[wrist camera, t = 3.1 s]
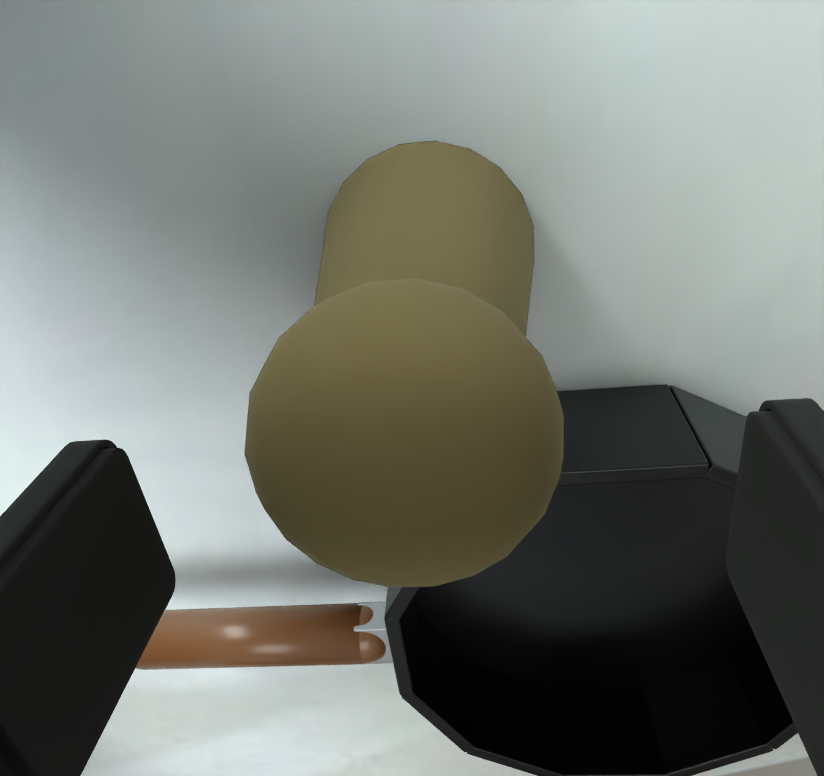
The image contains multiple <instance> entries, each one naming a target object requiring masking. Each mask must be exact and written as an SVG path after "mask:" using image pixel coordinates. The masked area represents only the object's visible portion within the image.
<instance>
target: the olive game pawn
mask: <svg viewBox="0 0 824 776" xmlns="http://www.w3.org/2000/svg"><path fill="white" fill-rule="evenodd" d="M533 263H534V234H533V223H532V221H531V218H530V215H529V212H528V210H527V207H526V204H525V202H524V199H523V196H522V194H521V193H520V191H519V190H518V189H517V188H516V186H515V185H514V184H513V183H512V182H511V180H510V179H509V178H508V177H507V175H506V174H505V173H504V172H503V171H502V169H501V168H500V167H499V166H497V165H495V164H494V163H492V162H490V161H489V160H487V159H486V158H484V157H482V156H481V155H479V154H478V153H476V152H474V151H473V150H471V149H469V148H464V147H460V146H456V145H451V144H447V143H443V142H438V141H428V142H418V143H409V144H400V145H397V146H395V147H393V148H391V149H389V150H387V151H384V152H382V153H380V154H378V155H376V156H374V157H372V158H369V159H367V160H366V161H365V162H364V163H363V164H362V165H361V166H360V167H359V168H358V169H357V170H356V171H355V172H354V173H353V174H352V175H351V176H350V177H349V178H348V179H347V180H346V181H345V182H344V183H343V184H342V186H341V188H340V190H339V192H338V194H337V196H336V198H335V200H334V202H333V204H332V206H331V208H330V210H329V212H328V216H327V223H326V230H325V236H324V243H323V250H322V256H321V263H320V270H319V276H318V283H317V290H316V296H315V303H314V307H313V308H312V309H311V310H309V311H308V312H307V313H306V314H305V315H304V316H303V317H302V318H300V319H299V320H298V321H297V322H296V323H295V324H294V325H293V326H291V327H290V328H289V329H288V330H287V331H286V332H285V333H283V334H282V335H281V336H280V337H279V339H278V340H277V342H276V344H275V346H274V347H273V349H272V351H271V353H270V355H269V356H268V358H267V360H266V362H265V364H264V366H263V368H262V370H261V372H260V374H259V376H258V378H257V380H256V382H255V384H254V385H253V387H252V389H251V391H250V395H249V406H248V418H247V429H246V442H245V457H246V461H247V464H248V467H249V471H250V474H251V477H252V481H253V484H254V487H255V491H256V493H257V495H258V497H259V499H260V501H261V503H262V505H263V507H264V509H265V511H266V512H267V513H268V515H269V516H270V518H271V519H272V520H273V522H274V523H275V525H276V526H277V527H278V529H279V530H280V531H281V533H282V534H283V536H284V537H285V538H286V540H288V541H289V542H290V543H291V544H293V545H294V546H295V547H297V548H298V549H299V550H300V551H302V552H303V553H304V554H306V555H307V556H308V557H309V558H311V559H312V560H313V561H314V562H316V563H317V564H319V565H322V566H324V567H326V568H328V569H331V570H333V571H335V572H337V573H340V574H342V575H344V576H346V577H349V578H351V579H353V580H358V581H363V582H368V583H373V584H378V585H384V586H389V587H394V588H395V587H428V586H438V585H441V584H445V583H449V582H453V581H456V580H460V579H464V578H467V577H471V576H474V575H476V574H477V573H479V572H481V571H483V570H484V569H486V568H488V567H490V566H491V565H493V564H495V563H497V562H498V561H500V560H502V559H503V558H505V557H507V556H508V555H509V554H510V552H511V551H512V550H513V549H514V548H515V547H516V546H517V545H518V544H519V543H520V542H521V540H522V539H523V538H524V537H525V536H526V535H527V534H528V533H529V532H530V531H531V530H532V528H533V527H534V526H535V525H536V524H537V523H538V521H539V520H540V519H541V518H542V517H543V516H544V515H545V512H546V510H547V507H548V505H549V502H550V500H551V498H552V495H553V493H554V490H555V488H556V485H557V483H558V481H559V478H560V473H561V468H562V462H563V448H564V415H563V411H562V408H561V404H560V400H559V397H558V394H557V391H556V389H555V386H554V384H553V381H552V379H551V376H550V374H549V371H548V369H547V366H546V364H545V361H544V359H543V356H542V355H541V353H540V352H539V351H538V350H537V349H536V348H535V347H534V346H533V345H532V343H531V342H530V341H529V340H528V339H527V338H526V330H527V320H528V311H529V301H530V292H531V282H532V272H533Z"/></svg>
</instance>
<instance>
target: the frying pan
mask: <svg viewBox="0 0 824 776" xmlns="http://www.w3.org/2000/svg"><path fill="white" fill-rule="evenodd" d="M557 394H558V397H559V400H560V404H561V408H562V411H563V415H564V448H563V462H562V468H561V473H560V478H559V481H558V483H557V485H556V488H555V490H554V493H553V495H552V498H551V500H550V502H549V505H548V507H547V510H546V512H545V515H544V516H543V517H542V518H541V519H540V520H539V521H538V523H537V524H536V525H535V526H534V527H533V528H532V530H531V531H530V532H529V533H528V534H527V535H526V536H525V537H524V538H523V539H522V540H521V542H520V543H519V544H518V545H517V546H516V547H515V548H514V549H513V550H512V551H511V552H510V554H509V555H508V556H507V557H505V558H503V559H502V560H500V561H498V562H497V563H495V564H493V565H491V566H490V567H488V568H486V569H484V570H483V571H481V572H479V573H477V574H476V575H474V576H471V577H467V578H464V579H460V580H456V581H453V582H449V583H445V584H441V585H438V586H428V587H395V588H394V587H389V586H388V591H387V600H386V602H361V603H348V604H321V605H293V606H265V607H237V608H209V609H181V610H165V611H164V613H163V615H162V616H161V618H160V620H159V622H158V624H157V626H156V628H155V630H154V632H153V634H152V636H151V638H150V640H149V642H148V644H147V646H146V648H145V650H144V652H143V654H142V656H141V658H140V660H139V662H138V664H137V666H136V668H137V669H143V670H148V669H188V668H228V667H268V666H308V665H348V664H376V663H393V664H394V669H395V674H396V678H397V683H398V688H399V693H400V695H402V698H403V699H404V700H405V701H406V702H408V703H409V704H410V705H411V706H412V707H413V708H414V709H416V710H417V711H418V712H419V713H420V714H421V715H423V716H424V717H425V718H426V719H427V720H428V721H429V722H431V723H432V724H433V725H434V726H435V727H436V728H437V729H439V730H440V731H441V732H442V733H443V734H444V735H445V736H447V737H448V738H449V739H450V740H451V741H452V742H453V743H455V744H456V745H457V746H458V747H459V748H460V749H461V750H463V751H464V752H467V754H470V755H473V756H476V757H479V758H483V759H486V760H489V761H492V762H496V763H499V764H502V765H505V766H508V767H512V768H515V769H518V770H521V771H525V772H528V773H531V774H534V775H537V776H692V775H695V774H698V773H702V772H705V771H708V770H711V769H715V768H718V767H721V766H725V765H728V764H731V763H735V762H738V761H741V760H745V759H748V758H751V757H754V756H758V755H761V754H764V753H768V752H771V751H773V749H777V748H779V747H780V746H781V745H783V744H784V743H785V742H786V741H788V740H789V739H790V738H792V737H793V736H794V735H796V734H797V733H798V731H797V729H796V726H795V724H794V722H793V720H792V717H791V715H790V713H789V711H788V708H787V706H786V704H785V702H784V700H783V697H782V695H781V693H780V691H779V688H778V686H777V684H776V682H775V679H774V677H773V675H772V673H771V671H770V668H769V666H768V664H767V662H766V659H765V657H764V655H763V653H762V650H761V648H760V646H759V644H758V641H757V639H756V637H755V635H754V633H753V630H752V628H751V626H750V624H749V621H748V619H747V617H746V615H745V612H744V610H743V608H742V606H741V603H740V601H739V599H738V597H737V595H736V592H735V590H734V588H733V586H732V583H731V581H730V578H729V576H728V572H727V566H726V549H727V543H728V536H729V529H730V523H731V516H732V510H733V503H734V496H735V490H736V483H737V476H738V470H739V463H740V456H741V450H742V443H743V437H744V430H745V423H746V419H747V417H744V416H742V415H740V414H737V413H735V412H733V411H730V410H728V409H726V408H723V407H721V406H719V405H716V404H714V403H711V402H709V401H707V400H704V399H702V398H700V397H697V396H695V395H693V394H690V393H688V392H686V391H683V390H681V389H679V388H676V387H674V386H670V387H668V385H655V386H641V387H627V388H613V389H599V390H585V391H571V392H557Z"/></svg>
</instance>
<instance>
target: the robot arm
mask: <svg viewBox="0 0 824 776" xmlns="http://www.w3.org/2000/svg"><path fill="white" fill-rule="evenodd" d="M726 566H727V572H728V576H729V578H730V581H731V583H732V586H733V588H734V590H735V592H736V595H737V597H738V599H739V601H740V603H741V606H742V608H743V610H744V612H745V615H746V617H747V619H748V621H749V624H750V626H751V628H752V630H753V633H754V635H755V637H756V639H757V641H758V644H759V646H760V648H761V650H762V653H763V655H764V657H765V659H766V662H767V664H768V666H769V668H770V671H771V673H772V675H773V677H774V679H775V682H776V684H777V686H778V688H779V691H780V693H781V695H782V697H783V700H784V702H785V704H786V706H787V708H788V711H789V713H790V715H791V717H792V720H793V722H794V724H795V726H796V729H797V731H798V733H799V735H800V738H801V740H802V742H803V744H804V746H805V749H806V751H807V753H808V755H809V758H810V760H811V762H812V764H813V767H814V769H815V771H816V773H817V776H824V411H823V410H822V409H821V408H820V407H819V405H818V404H817V403H816V402H815V401H813V400H812V399H809V398H802V399H785V400H768V401H765V402H763V403H762V405H761V407H760V410H759V411H756V412H750V413H749V414H748V416H747V419H746V423H745V430H744V437H743V443H742V450H741V456H740V463H739V470H738V476H737V483H736V490H735V496H734V503H733V510H732V516H731V523H730V529H729V536H728V543H727V549H726ZM175 580H176V579H175V572H174V569H173V566H172V564H171V561H170V559H169V556H168V554H167V551H166V549H165V547H164V544H163V542H162V539H161V537H160V534H159V532H158V529H157V527H156V524H155V522H154V519H153V517H152V515H151V512H150V510H149V507H148V505H147V502H146V500H145V497H144V495H143V492H142V490H141V487H140V485H139V483H138V480H137V478H136V475H135V473H134V470H133V468H132V465H131V463H130V460H129V458H128V456H127V454H126V452H125V451H124V450H123V449H120V448H117V447H116V445H115V444H114V443H113V442H112V441H109V440H92V441H75V442H71V443H69V444H68V445H66V446H65V447H64V448H63V449H62V450H61V451H60V452H59V454H58V455H57V456H56V457H55V458H54V459H53V460H52V461H51V462H50V463H49V464H48V465H47V467H46V468H45V469H44V470H43V471H42V472H41V473H40V474H39V475H38V476H37V477H36V478H35V479H34V481H33V482H32V483H31V484H30V485H29V486H28V487H27V488H26V489H25V490H24V491H23V492H22V494H21V495H20V496H19V497H18V498H17V499H16V500H15V501H14V502H13V503H12V504H11V505H10V507H9V508H8V509H7V510H6V511H5V512H4V513H3V514H2V515H1V516H0V776H80V775H81V774H82V772H83V770H84V768H85V766H86V764H87V762H88V760H89V758H90V756H91V754H92V752H93V750H94V748H95V746H96V744H97V742H98V740H99V738H100V736H101V734H102V732H103V730H104V728H105V726H106V724H107V722H108V721H109V719H110V717H111V715H112V713H113V711H114V709H115V707H116V705H117V703H118V701H119V699H120V697H121V695H122V693H123V691H124V689H125V687H126V685H127V683H128V681H129V679H130V677H131V675H132V673H133V671H134V669H135V668H136V666H137V664H138V662H139V660H140V658H141V656H142V654H143V652H144V650H145V648H146V646H147V644H148V642H149V640H150V638H151V636H152V634H153V632H154V630H155V628H156V626H157V624H158V622H159V620H160V618H161V616H162V615H163V613H164V611H165V609H166V607H167V605H168V603H169V601H170V599H171V597H172V595H173V592H174V588H175Z"/></svg>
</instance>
